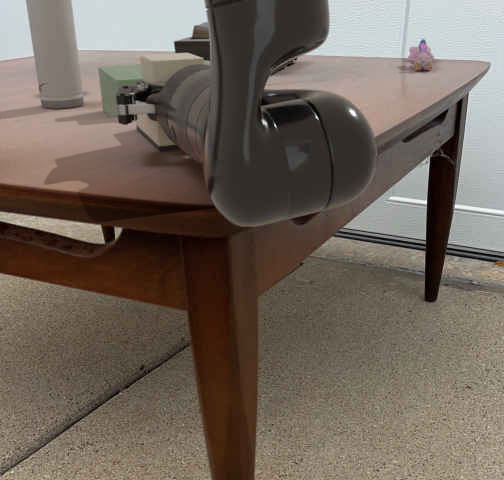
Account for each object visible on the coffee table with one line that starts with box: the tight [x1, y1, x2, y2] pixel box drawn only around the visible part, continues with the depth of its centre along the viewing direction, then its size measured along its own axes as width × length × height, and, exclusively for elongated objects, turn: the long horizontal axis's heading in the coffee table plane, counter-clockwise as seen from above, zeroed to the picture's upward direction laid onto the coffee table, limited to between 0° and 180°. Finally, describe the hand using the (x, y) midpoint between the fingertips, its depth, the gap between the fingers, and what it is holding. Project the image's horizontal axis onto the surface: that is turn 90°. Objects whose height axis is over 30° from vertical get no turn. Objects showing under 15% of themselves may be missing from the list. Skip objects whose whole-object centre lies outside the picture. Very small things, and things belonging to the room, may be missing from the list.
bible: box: [173, 21, 299, 76], centre depth 140 cm, size 23×27×10 cm
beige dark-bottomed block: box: [135, 52, 204, 152], centre depth 72 cm, size 5×12×10 cm, turn 19°
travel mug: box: [25, 0, 85, 110], centre depth 99 cm, size 6×7×20 cm
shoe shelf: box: [97, 60, 210, 119], centre depth 93 cm, size 16×16×6 cm
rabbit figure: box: [405, 38, 440, 73], centre depth 135 cm, size 6×6×15 cm
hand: (167, 89), depth 71 cm, fingers closed on beige dark-bottomed block, 5 cm apart
